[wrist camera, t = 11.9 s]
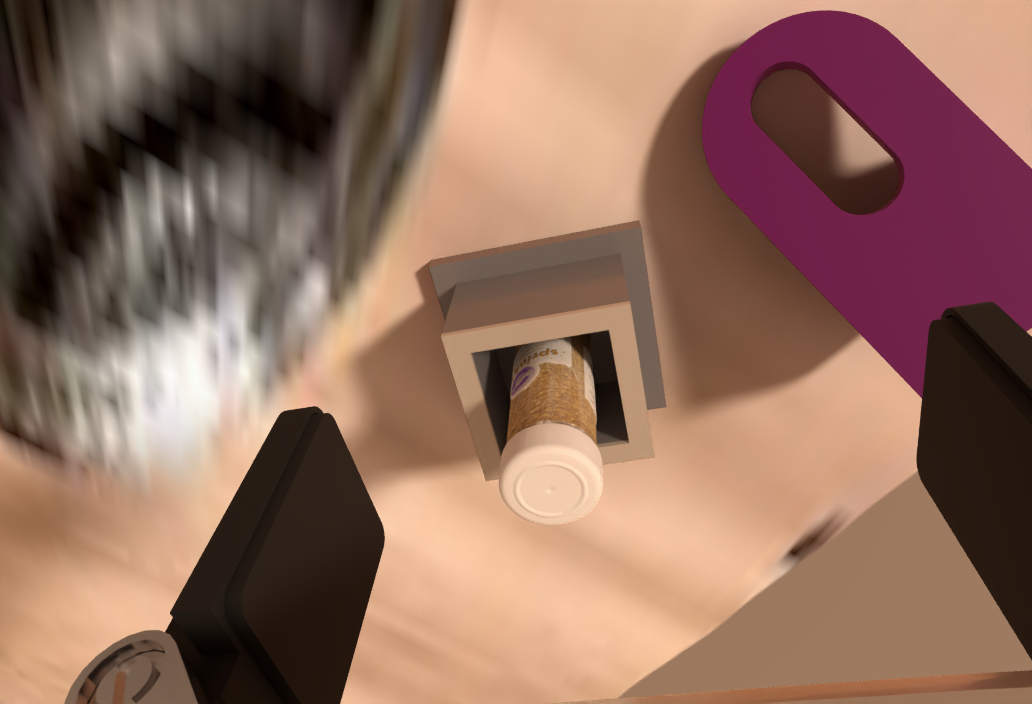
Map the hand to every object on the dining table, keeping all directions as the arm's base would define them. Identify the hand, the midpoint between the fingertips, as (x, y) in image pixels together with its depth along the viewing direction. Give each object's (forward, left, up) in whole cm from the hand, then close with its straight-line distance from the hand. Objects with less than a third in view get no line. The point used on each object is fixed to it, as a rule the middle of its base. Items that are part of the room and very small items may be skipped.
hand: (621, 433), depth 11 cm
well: (+13, -4, -29) cm, 32 cm away
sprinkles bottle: (+13, -4, -28) cm, 31 cm away
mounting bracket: (+7, +13, -29) cm, 32 cm away
